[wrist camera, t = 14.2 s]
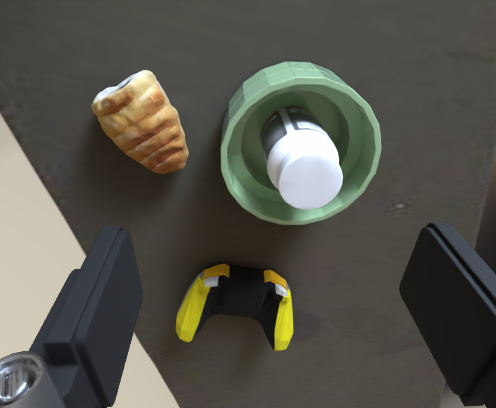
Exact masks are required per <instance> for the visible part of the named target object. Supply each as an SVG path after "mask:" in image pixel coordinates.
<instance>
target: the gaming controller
mask: <svg viewBox="0 0 496 408" xmlns="http://www.w3.org/2000/svg"><path fill="white" fill-rule="evenodd" d="M217 314H224V315H233V316H241V317H250V318H254V319H256V320H258V321H259V322H260V323H261V325H262V327H263V329H264V332H265V334H266V336H267V339H268V340H269V342H270V344H271V346H272V348H273V350H274V351H280V350H285V349H286V348H287V346H288V345H289V342H290V340H291V337H292V335H293V313H292V301H291V293H290V288H289V286H288V284H287V283H286V280H285V279H283V278H282V277H280V276H279V275H278V274H276V273H275V272H273V271H271V270H266V271H263V270H256V269H249V268H241V267H234V266H228V265H226V264H220V265H217V266H214V267H211V268H208V269H205V270H204V271H203V272H201V273H199V274H198V275H197V276H196V278H195V279H194V281H193V282H192V283H191V285H190V286H189V288H188V289H187V292H186V294H185V296H184V298H183V300H182V302H181V304H180V307H179V309H178V312H177V319H176V332H177V334H178V336H179V338H180V339H181V340H183V341H185V342H190V341H191V340H192V339H193V338H194V337H195V336H196V334H197V333H198V332H199V331H200V329H201V328H202V327H203V325H204V324H205V322H206V321H207V319H208V318H209V317H211V316H213V315H217Z"/></svg>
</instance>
